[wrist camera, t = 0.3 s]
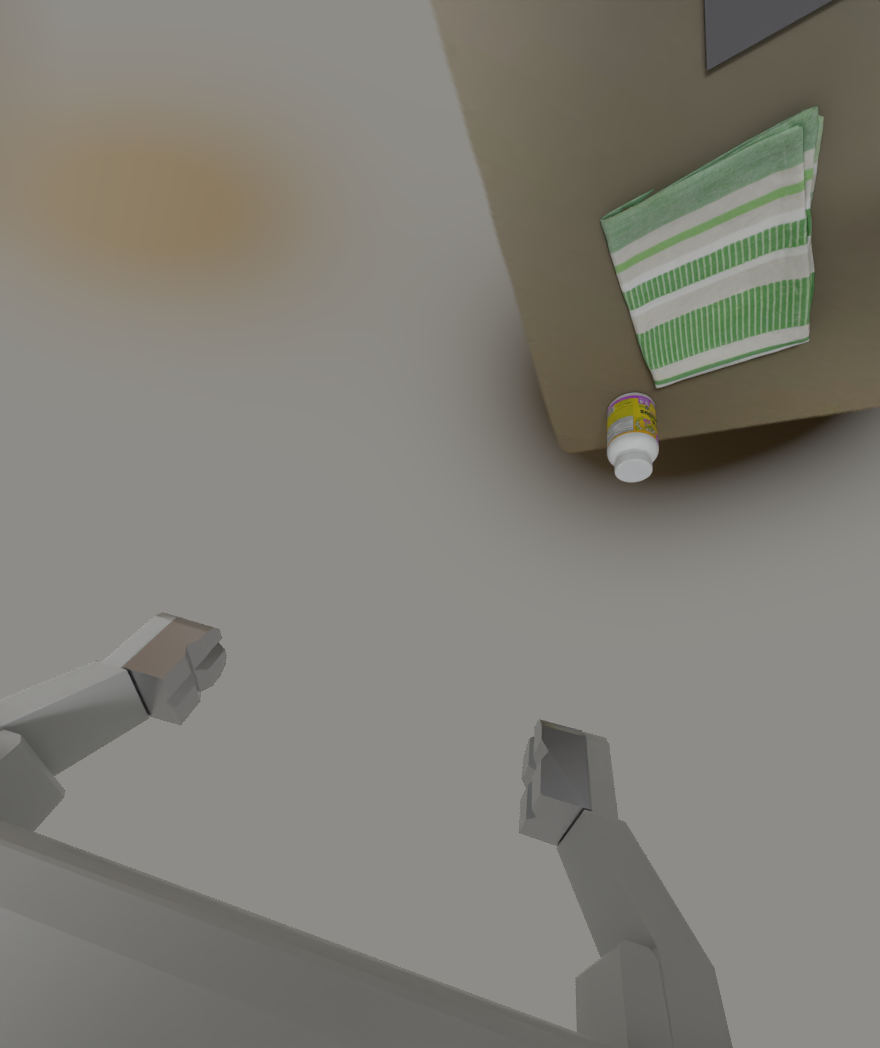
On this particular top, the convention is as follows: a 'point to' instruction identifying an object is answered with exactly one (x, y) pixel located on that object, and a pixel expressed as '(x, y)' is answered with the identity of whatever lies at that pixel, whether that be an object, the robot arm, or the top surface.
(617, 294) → the top surface
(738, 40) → the mat
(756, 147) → the dish towel
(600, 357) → the top surface
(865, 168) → the top surface
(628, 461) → the supplement bottle
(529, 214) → the top surface
